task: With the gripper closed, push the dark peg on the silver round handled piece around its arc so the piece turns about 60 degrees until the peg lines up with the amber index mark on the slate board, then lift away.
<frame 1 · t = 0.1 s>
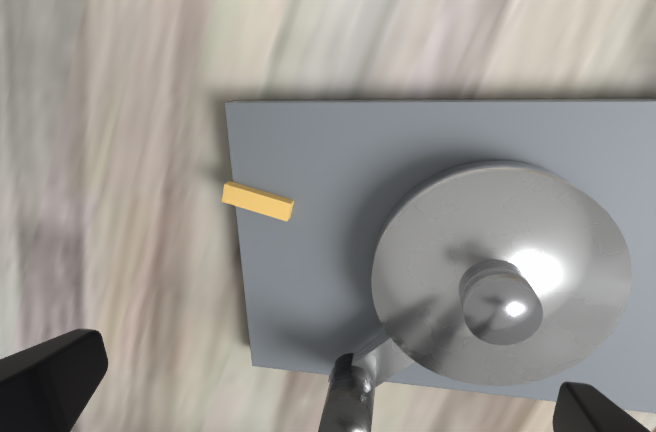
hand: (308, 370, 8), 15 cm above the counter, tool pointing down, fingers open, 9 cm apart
slate board: (469, 253, 22), on the counter
silver round handled piece: (453, 326, 18), point 4 cm above the counter, hinge at 0.0°
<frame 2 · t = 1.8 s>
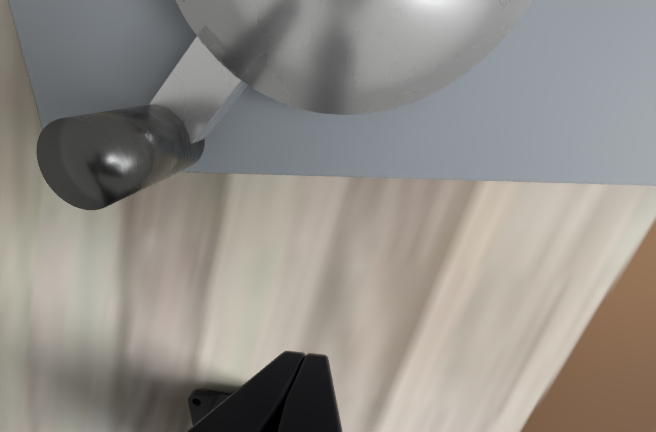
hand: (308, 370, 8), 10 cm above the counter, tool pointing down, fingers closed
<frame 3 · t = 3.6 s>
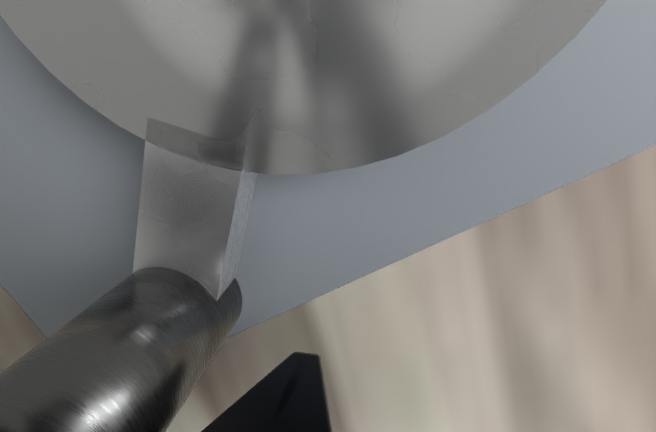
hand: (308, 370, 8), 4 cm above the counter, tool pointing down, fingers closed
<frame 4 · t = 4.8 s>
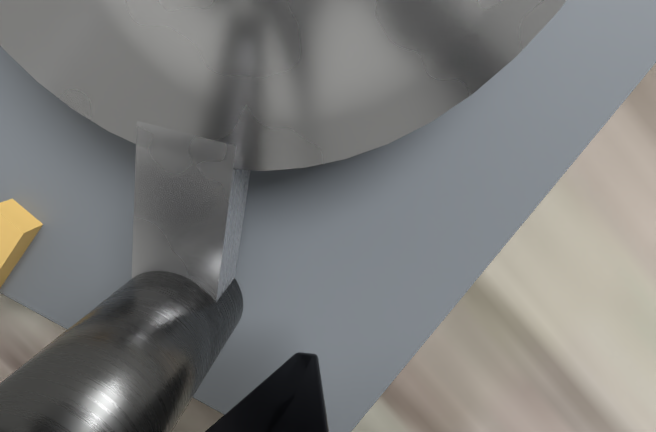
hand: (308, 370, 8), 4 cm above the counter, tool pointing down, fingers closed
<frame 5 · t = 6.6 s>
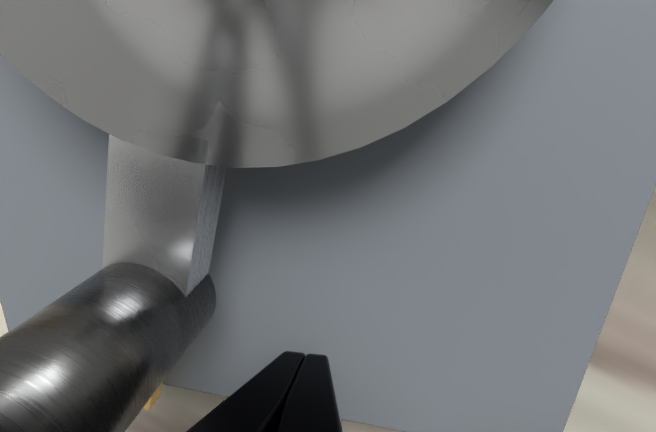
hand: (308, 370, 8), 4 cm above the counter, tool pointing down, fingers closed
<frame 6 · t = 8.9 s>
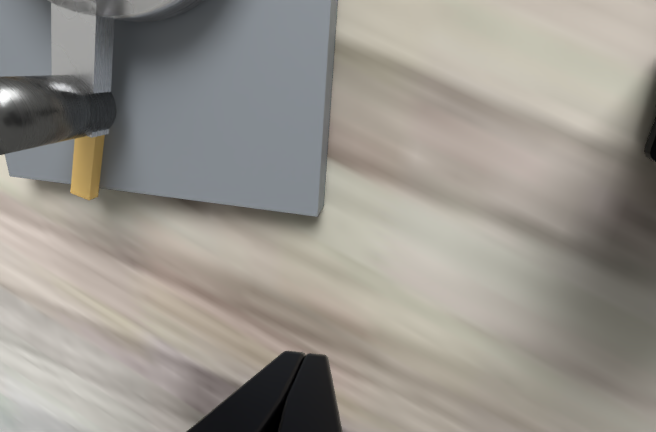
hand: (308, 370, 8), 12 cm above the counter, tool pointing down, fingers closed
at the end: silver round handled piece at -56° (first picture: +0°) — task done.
